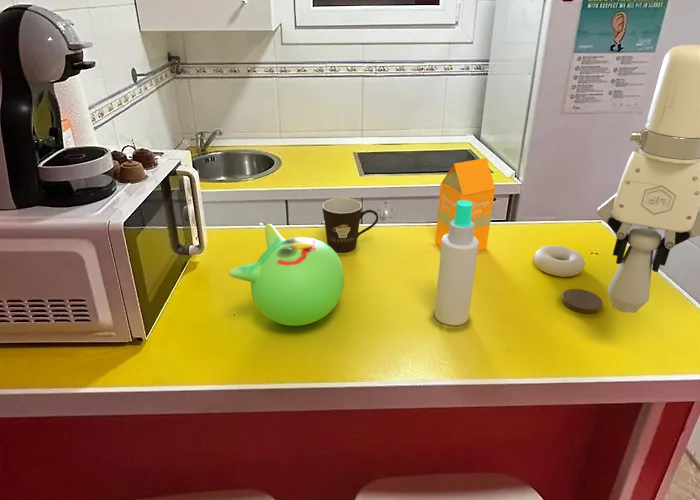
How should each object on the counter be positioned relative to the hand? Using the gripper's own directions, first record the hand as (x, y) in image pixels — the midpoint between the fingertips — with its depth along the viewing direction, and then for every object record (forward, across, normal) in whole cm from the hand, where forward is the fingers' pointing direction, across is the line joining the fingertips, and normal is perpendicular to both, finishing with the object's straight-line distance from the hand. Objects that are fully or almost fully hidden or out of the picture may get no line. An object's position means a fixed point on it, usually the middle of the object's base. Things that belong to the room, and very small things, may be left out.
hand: (637, 262), depth 78 cm
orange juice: (+16, -33, +24) cm, 44 cm away
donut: (+16, -12, +24) cm, 31 cm away
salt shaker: (+8, 0, 0) cm, 8 cm away
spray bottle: (+16, -26, -4) cm, 31 cm away
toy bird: (+16, -51, -16) cm, 56 cm away
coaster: (+16, -6, +12) cm, 21 cm away
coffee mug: (+16, -55, +11) cm, 58 cm away
